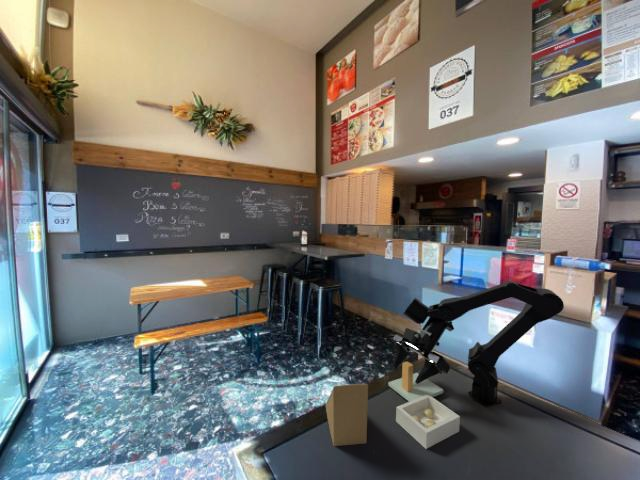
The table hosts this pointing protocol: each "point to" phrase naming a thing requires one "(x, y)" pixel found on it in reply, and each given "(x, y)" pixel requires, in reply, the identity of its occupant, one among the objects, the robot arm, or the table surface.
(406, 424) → the tub
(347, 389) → the sandwich container
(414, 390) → the lid
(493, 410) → the table surface
